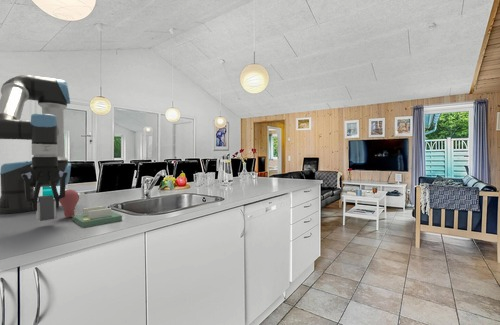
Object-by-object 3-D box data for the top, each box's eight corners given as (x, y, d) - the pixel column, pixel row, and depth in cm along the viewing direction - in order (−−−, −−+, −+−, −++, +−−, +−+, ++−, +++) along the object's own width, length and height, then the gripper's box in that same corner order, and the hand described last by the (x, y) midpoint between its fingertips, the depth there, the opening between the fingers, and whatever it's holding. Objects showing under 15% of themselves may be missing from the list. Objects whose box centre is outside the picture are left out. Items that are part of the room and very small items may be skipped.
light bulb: (69, 220, 106) (68, 191, 105) (54, 219, 107) (54, 190, 107) (83, 216, 112) (83, 188, 112) (69, 215, 114) (69, 188, 113)
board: (72, 220, 105) (72, 208, 105) (109, 214, 115) (109, 203, 115) (82, 227, 95) (82, 214, 95) (121, 220, 106) (121, 208, 105)
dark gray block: (38, 218, 97) (37, 196, 96) (51, 216, 100) (51, 195, 99) (40, 220, 94) (40, 198, 93) (54, 218, 97) (53, 196, 96)
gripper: (15, 156, 86) (17, 224, 88) (74, 156, 99) (75, 215, 100) (12, 155, 92) (14, 220, 93) (69, 155, 104) (70, 212, 105)
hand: (46, 217), depth 97 cm, fingers closed on dark gray block, 4 cm apart
